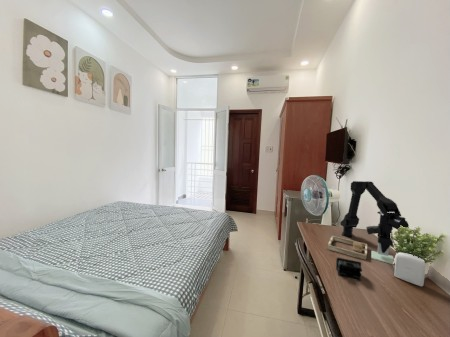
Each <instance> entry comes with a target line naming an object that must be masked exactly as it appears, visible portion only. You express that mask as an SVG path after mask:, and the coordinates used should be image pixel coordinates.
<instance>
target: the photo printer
mask: <svg viewBox="0 0 450 337" xmlns="http://www.w3.org/2000/svg"><path fill="white" fill-rule="evenodd" d="M418 257H419V256H416V255H414V256H413V254H410V253H406V252H397V254H396V256H395V261H394V263H395V265H394V272H393V273H394V274H393V275H394V277H396V278H398V279H399V280H403V281H406V282H408V283H410V284H413V285H416V286H419V287H423V286H425V285H424V283H425V274H426V263H425V262H426V261H425V260H424V259H423V258H421V257H419V258H418Z"/></svg>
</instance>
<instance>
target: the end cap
mask: <svg viewBox="0 0 450 337" xmlns="http://www.w3.org/2000/svg"><path fill="white" fill-rule="evenodd" d="M335 260H336V261H335V264H336V265H335V266H336V268H335V269H336V271H337V275H338V276H339V277H342V278H346V279H351V280H356V281H362V280H361V278H362V272H363V269H362V262H361V261H358V260H353V259H348V258H343V257H336V259H335Z"/></svg>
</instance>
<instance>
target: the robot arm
mask: <svg viewBox="0 0 450 337" xmlns="http://www.w3.org/2000/svg"><path fill="white" fill-rule="evenodd" d="M350 191H351V198H350V202H349V208H348V212H347V213H346V214H345V215H344V216H343V219H342V220H341V221H340V222H339V223H340V226H341V227H343V229H342V233H341V235H342V236H345V237H348V238H353V237H354V233H353V229H354V228H355V229H356V228H357V226H358V224H360V223H359V221H360V218H359V217H358V215H357V214H358V209H359V205H360V201H361V198H362V195H363V194H364V193H365V192H366V191H367V192H368V194H370V196H371V197H372V198H373V199H374V200H375V202H376V207H377V208H378V210H379V211H377V214H379V223H378V225H370V226H366V227H365V229H366V233H367V234H368V235H375V234H376V235H377V244H378V243H380V244H381V249H382V253H385V252H386V250H387V249H388V248H389V249H390V247H391V246H392V247H393V245H394V240H393V239H392V237H391V238H390V233H393V229H396V230H398V228H399V227H400V225H402V226H403V227H408V228H409V222H408V221H407V220H406V218H405V217H404V216H402V214H401V211H400V210H399V208H398V204H397V203H396V202H395V201H394V200H393V199H391V198H389V197H386V196H385V194H383V193H382V192H381V191H380V190H379V189H378V187H377V186H376V185H375V184H374V182H373V181H358V180H353V181H351V183H350Z"/></svg>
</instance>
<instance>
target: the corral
mask: <svg viewBox="0 0 450 337" xmlns="http://www.w3.org/2000/svg"><path fill="white" fill-rule="evenodd" d="M334 241H335V242H340V243H343V244H348V245H350V246H351V245H352V246H353V242H358V243H361V244H362V249H363V248H364V253H362V252H358V251H354V250H350V249H345V248H342V247H338V246H334V245H332V244H333V242H334ZM326 249H327V250H329V251H332V252H336V253H340V254H342V255H347V256H350V257H354V258H357V259H362V260H364V261H366V260H367V254H368V244H367V243H365V242H359V241H358V240H357V241H356V240H352V239H347V238H344V237H339V236H335V235H331V237H330V238H329V241H328V243H327V247H326Z"/></svg>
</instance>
